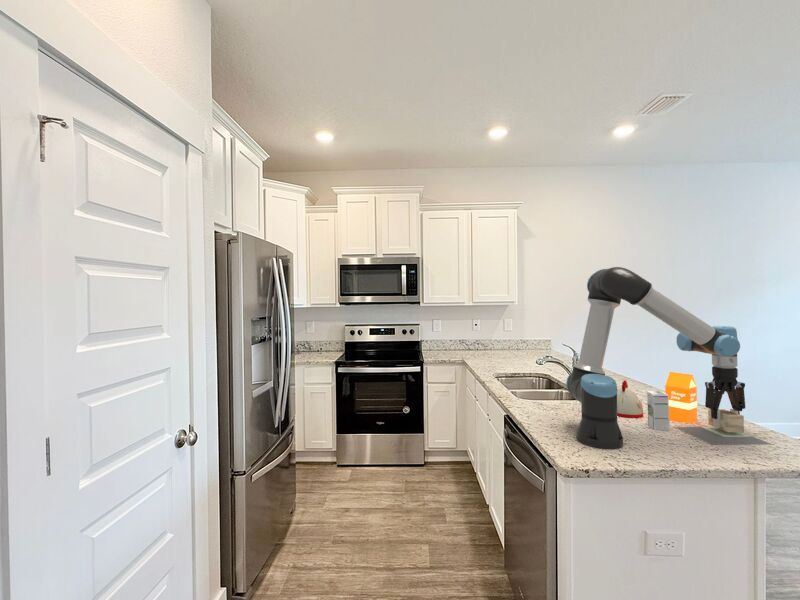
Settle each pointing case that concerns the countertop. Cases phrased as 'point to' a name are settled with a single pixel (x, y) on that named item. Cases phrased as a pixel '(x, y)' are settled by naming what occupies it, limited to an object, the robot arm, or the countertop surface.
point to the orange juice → (681, 397)
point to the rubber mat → (721, 436)
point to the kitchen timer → (628, 403)
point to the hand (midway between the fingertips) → (725, 427)
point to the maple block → (728, 421)
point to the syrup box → (658, 410)
